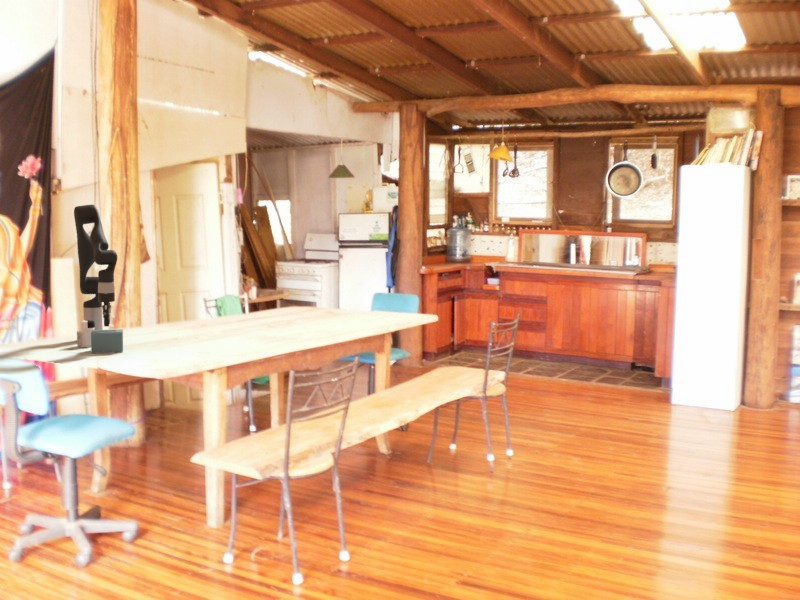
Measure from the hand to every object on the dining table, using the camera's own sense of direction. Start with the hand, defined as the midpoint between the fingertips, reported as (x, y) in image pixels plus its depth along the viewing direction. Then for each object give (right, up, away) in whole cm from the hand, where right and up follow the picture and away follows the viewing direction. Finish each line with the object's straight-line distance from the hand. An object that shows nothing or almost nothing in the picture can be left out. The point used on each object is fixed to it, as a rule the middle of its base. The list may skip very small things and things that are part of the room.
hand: (107, 325), depth 395 cm
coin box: (0, -13, +1) cm, 13 cm away
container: (-15, -11, +16) cm, 25 cm away
